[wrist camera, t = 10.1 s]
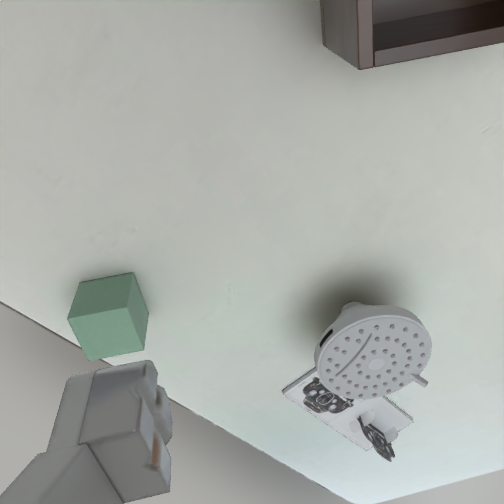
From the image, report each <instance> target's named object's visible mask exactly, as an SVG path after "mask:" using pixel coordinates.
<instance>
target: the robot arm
mask: <svg viewBox="0 0 504 504" xmlns="http://www.w3.org/2000/svg"><path fill="white" fill-rule="evenodd" d="M157 376H158V372H157V370H156V368H155V366H154V364H153V362H152V361H150V360H145V361H140V362H134V363H129V364H124V365H118V366H113V367H108V368H103V369H98V370H95V371H90V372H84V373H79V374H73V375H71V377H70V378H69V379H68V380H67V382H66V385H65V388H64V392H63V396H62V399H61V402H60V406H59V410H58V413H57V416H56V420H55V423H54V427H53V430H52V434H51V437H50V441H49V444H48V448H47V451H46V452H45V453H40V454H38V455H37V456H36V457H35V458H34V459H33V460H32V461H31V462H30V463H29V464H28V466H27V467H26V468H25V469H24V470H23V471H22V472H21V473H20V474H19V476H18V477H17V478H16V479H15V480H14V481H13V482H12V483H11V484H10V485H9V487H8V488H7V489H6V490H5V491H4V492H3V493H2V494H1V496H0V504H123V503H126V502H131V501H135V500H139V499H143V498H147V497H152V496H155V495H160V494H163V493H168V492H170V480H171V456H170V454H169V452H168V450H167V447H166V445H167V443H168V442H169V440H170V439H171V437H172V417H171V408H170V404H169V400H168V396H167V394H166V392H165V389H164V388H163V387H161V386H159V385H157Z"/></svg>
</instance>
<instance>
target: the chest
mask: <svg viewBox="0 0 504 504" xmlns="http://www.w3.org/2000/svg"><path fill="white" fill-rule="evenodd" d="M320 6H321V21H322V35H323V45H324V46H325V47H327V48H328V49H329V50H331V51H332V52H334V53H335V54H337V55H338V56H340V57H341V58H342V59H344V60H345V61H347V62H348V63H350V64H351V65H353V66H354V67H355V68H357V69H358V70H363V69H368V68H373V67H379V66H384V65H389V64H394V63H400V62H405V61H410V60H415V59H420V58H425V57H431V56H436V55H441V54H446V53H451V52H457V51H462V50H467V49H472V48H477V47H482V46H488V45H493V44H498V43H503V42H504V0H320Z"/></svg>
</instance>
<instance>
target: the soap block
mask: <svg viewBox="0 0 504 504" xmlns="http://www.w3.org/2000/svg"><path fill="white" fill-rule="evenodd" d="M148 315H149V313H148V310H147V308H146V305H145V302H144V300H143V297H142V294H141V292H140V289H139V286H138V283H137V281H136V278H135V275H134V273H128V274H123V275H118V276H113V277H107V278H102V279H97V280H92V281H87V282H82V283H79V286H78V289H77V292H76V295H75V297H74V300H73V303H72V306H71V309H70V312H69V314H68V317H67V320H68V322H69V324H70V326H71V328H72V330H73V332H74V334H75V336H76V338H77V340H78V342H79V343H80V345H81V347H82V349H83V351H84V353H85V355H86V357H87V359H88V361H91V360H95V359H101V358H106V357H111V356H117V355H122V354H127V353H132V352H137V351H142V350H144V346H145V338H146V331H147V323H148Z"/></svg>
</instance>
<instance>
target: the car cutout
mask: <svg viewBox="0 0 504 504" xmlns="http://www.w3.org/2000/svg"><path fill="white" fill-rule="evenodd" d="M282 392H283V395H285V396H286V397H288V398H289V399H291V400H292V401H294V402H295V403H297V404H298V405H299V406H301V407H302V408H304V409H305V410H307V411H308V412H310V413H311V414H313V415H314V416H316V417H317V418H319V419H320V420H322V421H323V422H324V423H326V424H327V425H329V426H330V427H332V428H333V429H335V430H336V431H338V432H339V433H341V434H342V435H344V436H345V437H346V438H348V439H349V440H351V441H352V442H354V443H355V444H357V445H358V446H360V447H361V448H363V449H364V450H366V451H367V450H369V449H370V448H372V447H374V448H375V450H376V452H377V453H378V454H379V455H381V456H382V457H383V458H385V459H386V460H388V461H390V462H391V457H393V458H394V457H395V454H394V451H393V449H392V447H391V445H392V444H391V442H392V441H394V440H395V439H396V438H397V436H398V432H399V431H400V430H402V429H404V428H405V427H407V426H409V425H410V424H412V423H414V421H413V419H412V418H411V417H410V416H408V415H407V414H406V413H405V412H403V411H402V410H401V409H400V408H398V407H397V406H396V405H395V404H393V403H392V402H391V401H390V400H388V399H387V398H386V397H385V396H381V397H377V398H372V399H349V398H345V397H341V396H338V395H336V394H334V393H332V392H331V391H329V390H328V389H327V388H326V387H325V386H324V385H323V384H322V383H321V381H320V379H319V377H318V373H317V369H316V368H314V369H313V370H311V371H310V372H308V373H307V374H305V375H304V376H303V377H301V378H300V379H298V380H297V381H295V382H294V383H293V384H291V385H290V386H288V387H287V388H285V389H284V390H283V391H282Z"/></svg>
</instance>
